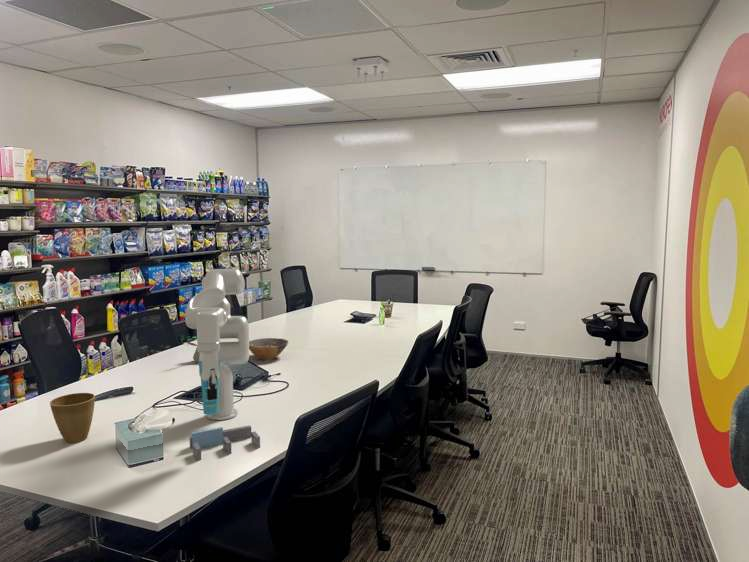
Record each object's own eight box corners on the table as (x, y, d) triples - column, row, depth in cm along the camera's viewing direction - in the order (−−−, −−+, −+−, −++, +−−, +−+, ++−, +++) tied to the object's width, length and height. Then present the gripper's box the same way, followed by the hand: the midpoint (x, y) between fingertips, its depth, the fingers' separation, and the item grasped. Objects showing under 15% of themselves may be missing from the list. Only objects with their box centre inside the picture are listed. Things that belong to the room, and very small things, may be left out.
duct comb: (189, 446, 200) (189, 431, 199) (250, 435, 211) (249, 420, 210) (196, 460, 188) (196, 443, 188) (260, 447, 199) (259, 431, 199)
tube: (200, 416, 189) (198, 362, 186) (199, 412, 193) (197, 359, 191) (222, 413, 192) (221, 360, 189) (221, 409, 196) (219, 357, 194)
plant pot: (87, 428, 217) (84, 390, 215) (104, 438, 207) (101, 397, 206) (46, 440, 205) (43, 399, 204) (62, 451, 196) (59, 408, 194)
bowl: (297, 356, 331) (296, 340, 330) (268, 365, 311) (268, 348, 309) (266, 351, 345) (266, 335, 344) (237, 359, 324) (236, 343, 323)
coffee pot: (200, 358, 327) (199, 334, 325) (217, 359, 324) (216, 335, 322) (178, 367, 306) (177, 341, 305) (196, 369, 303) (195, 343, 302)
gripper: (192, 343, 195) (194, 392, 197) (202, 353, 180) (204, 406, 183) (214, 340, 199) (215, 389, 201) (225, 350, 184) (227, 402, 186)
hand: (210, 396), depth 192 cm, fingers closed on tube, 4 cm apart
